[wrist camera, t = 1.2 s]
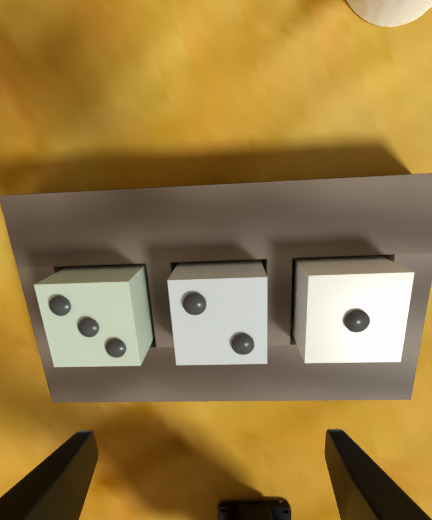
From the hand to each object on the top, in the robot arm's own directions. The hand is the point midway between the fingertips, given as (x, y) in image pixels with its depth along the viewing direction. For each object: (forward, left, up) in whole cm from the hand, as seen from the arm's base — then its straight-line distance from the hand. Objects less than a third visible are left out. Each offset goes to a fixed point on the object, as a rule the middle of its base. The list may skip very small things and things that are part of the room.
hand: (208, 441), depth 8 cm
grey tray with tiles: (0, 0, -12) cm, 12 cm away
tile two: (0, 0, -10) cm, 10 cm away
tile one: (0, -7, -10) cm, 12 cm away
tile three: (0, +7, -10) cm, 12 cm away
